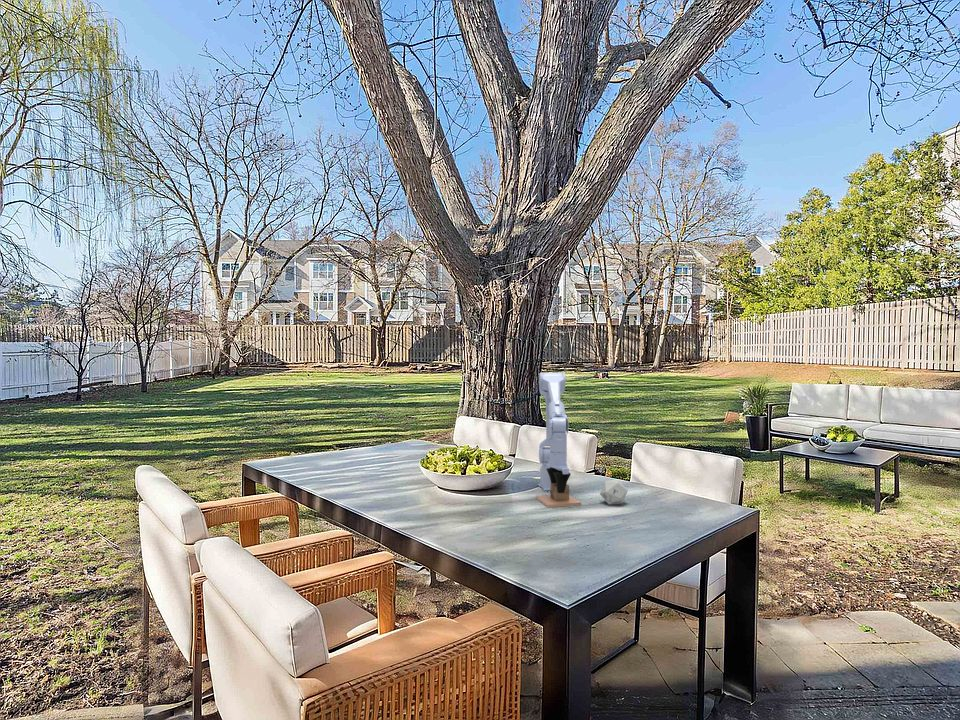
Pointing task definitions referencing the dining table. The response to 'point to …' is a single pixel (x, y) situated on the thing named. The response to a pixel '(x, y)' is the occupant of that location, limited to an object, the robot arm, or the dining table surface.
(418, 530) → the dining table surface
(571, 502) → the tile
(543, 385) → the robot arm
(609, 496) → the die
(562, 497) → the cube
